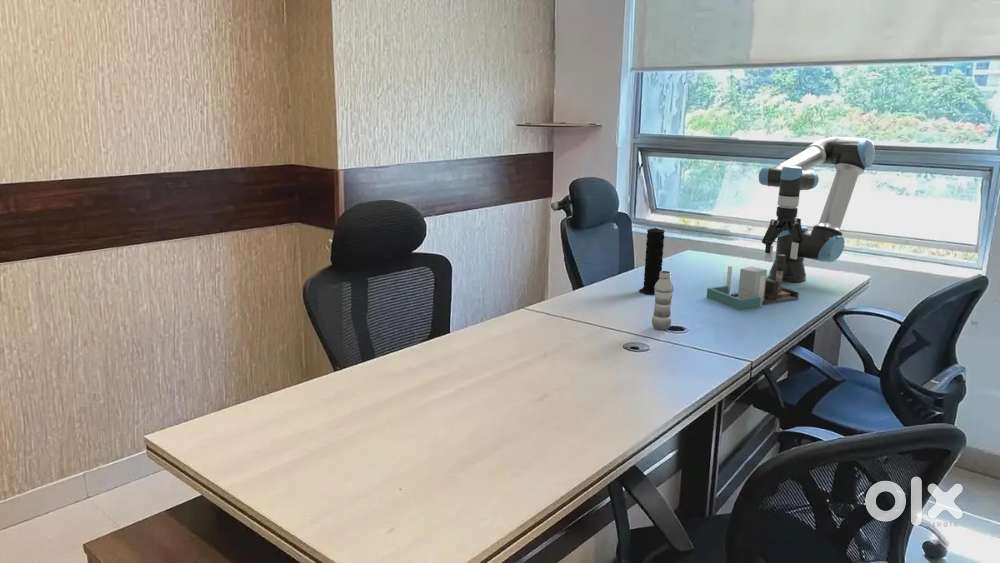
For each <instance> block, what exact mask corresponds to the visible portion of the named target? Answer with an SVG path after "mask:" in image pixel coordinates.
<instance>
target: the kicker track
mask: <svg viewBox="0 0 1000 563" xmlns="http://www.w3.org/2000/svg"><path fill="white" fill-rule="evenodd" d="M781 290H782V291H785V292H788V293H791V297H784V298H778V299H771V300H767V299H766V300H765V299H764V301H762V306H763V305H770V304H776V303H777V304H778V303H782V302H783V303H784V302H790V301H796V300H799V294H800V292H799V291H796V290H793V289H791V288H790V289H789V288H787V287H785V286H781ZM730 295H731V296H734V297H737V298H738V292H735V293H734V292H733V293H730Z"/></svg>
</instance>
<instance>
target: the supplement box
mask: <svg viewBox="0 0 1000 563" xmlns="http://www.w3.org/2000/svg"><path fill="white" fill-rule="evenodd" d="M739 270H740V271H739V272H740V273H739V280H738V292H737V293H738V297H737V298H739V299H746V298H753V297H758V295H759V286H760V277H761V276H765V282H764V291H763V300H762V301H764V300H765V298H764V295H765V285H766V278H767V274H768V270H767V269H765V268H760V267H755V266H746V267H742V268H740V269H739Z"/></svg>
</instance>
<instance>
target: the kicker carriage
mask: <svg viewBox="0 0 1000 563" xmlns="http://www.w3.org/2000/svg"><path fill="white" fill-rule="evenodd" d="M785 258H786V255H778V257H777V266H776V270H777V272H776V280H774V279H771V278H770V279H769V278H767V277H766V285H765V295H764V300H765V299H766V300H771V299H778V298H784V297H791V293H788V292H785V291H782V290H781V287H782V284H783V281H782V277H783V271H784V267H785Z"/></svg>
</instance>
